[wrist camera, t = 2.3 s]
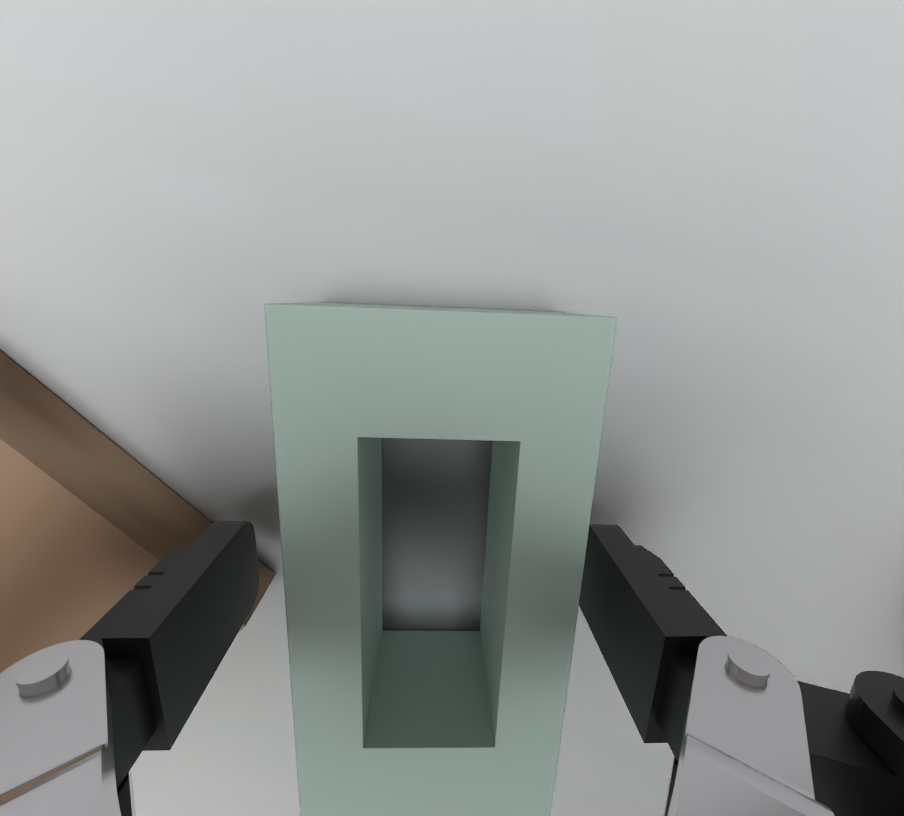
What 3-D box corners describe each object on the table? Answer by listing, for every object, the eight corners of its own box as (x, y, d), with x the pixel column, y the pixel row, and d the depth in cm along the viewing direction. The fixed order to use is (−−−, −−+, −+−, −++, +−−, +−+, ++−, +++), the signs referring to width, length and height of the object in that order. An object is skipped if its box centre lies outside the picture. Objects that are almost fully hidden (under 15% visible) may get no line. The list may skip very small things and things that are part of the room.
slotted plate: (521, 690, 14) (549, 819, 10) (335, 690, 13) (300, 822, 10) (559, 311, 11) (617, 317, 7) (320, 302, 10) (264, 303, 7)
